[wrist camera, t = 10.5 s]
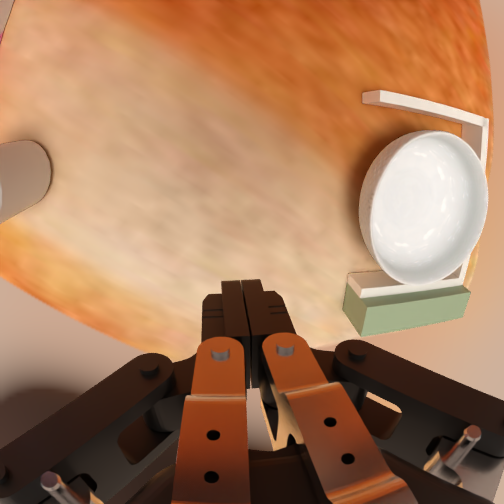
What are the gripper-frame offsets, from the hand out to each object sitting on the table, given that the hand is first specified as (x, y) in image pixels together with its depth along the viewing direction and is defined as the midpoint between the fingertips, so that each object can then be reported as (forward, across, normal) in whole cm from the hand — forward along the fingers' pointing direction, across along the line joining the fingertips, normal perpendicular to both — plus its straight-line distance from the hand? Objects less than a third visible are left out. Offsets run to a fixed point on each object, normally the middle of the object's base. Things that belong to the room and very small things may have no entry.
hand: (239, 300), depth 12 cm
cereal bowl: (+22, -21, +1) cm, 30 cm away
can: (+21, +22, -4) cm, 31 cm away
